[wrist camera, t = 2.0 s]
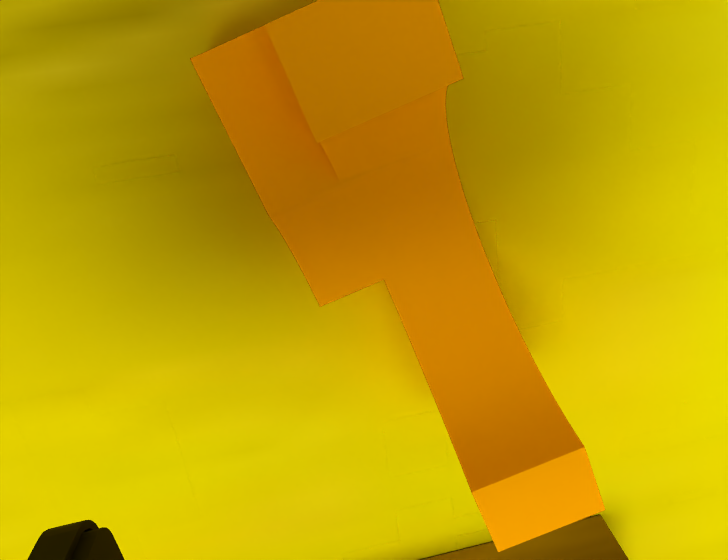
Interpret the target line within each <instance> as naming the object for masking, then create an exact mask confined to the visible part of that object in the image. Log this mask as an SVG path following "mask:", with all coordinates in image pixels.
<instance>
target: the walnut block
mask: <svg viewBox="0 0 728 560" xmlns="http://www.w3.org/2000/svg"><path fill="white" fill-rule="evenodd" d="M422 560H628V558H627V556H626V555H625V553H624V552H623V550H622V548H621V547H620V545H619V544H618V542H617V540H616V539H615V537H614V536H613V534H612V532H611V531H610V529H609V528H608V526H607V524H606V523H605V521H604V520H603V518H602V517H601V515H598V516H594V517H590V518H586V519H582V520H579V521H576V522H573V523H571V524H568V525H566V526H563V527H561V528H558V529H556V530H553V531H551V532H548V533H546V534H543V535H541V536H538V537H536V538H533V539H530V540H528V541H525V542H523V543H520V544H518V545H515V546H513V547H510V548H508V549H505V550H503V551H500V552H498V551H497V548H496V546H495V544H494V542H490V543H486V544H482V545H478V546H474V547H470V548H466V549H462V550H458V551H454V552H450V553H446V554H442V555H438V556H434V557H430V558H426V559H422Z"/></svg>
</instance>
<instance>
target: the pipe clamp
mask: <svg viewBox="0 0 728 560" xmlns="http://www.w3.org/2000/svg"><path fill="white" fill-rule="evenodd" d="M190 60H191V62H192V64H193V66H194V68H195V70H196V72H197V74H198V76H199V78H200V80H201V82H202V84H203V86H204V88H205V90H206V92H207V94H208V96H209V98H210V100H211V102H212V104H213V106H214V108H215V110H216V112H217V114H218V116H219V118H220V120H221V122H222V124H223V126H224V128H225V130H226V132H227V134H228V136H229V138H230V140H231V142H232V144H233V146H234V148H235V150H236V152H237V154H238V156H239V158H240V160H241V162H242V164H243V166H244V168H245V170H246V172H247V174H248V176H249V178H250V180H251V182H252V184H253V186H254V188H255V190H256V192H257V194H258V196H259V198H260V200H261V202H262V204H263V206H264V208H265V210H266V212H267V214H268V215H269V217H270V218H271V220H272V221H273V223H274V224H275V226H276V227H277V229H278V230H279V232H280V234H281V235H282V237H283V238H284V240H285V242H286V243H287V245H288V247H289V249H290V250H291V252H292V254H293V256H294V257H295V259H296V261H297V263H298V265H299V267H300V268H301V270H302V272H303V274H304V276H305V278H306V280H307V282H308V284H309V286H310V288H311V290H312V292H313V294H314V296H315V298H316V300H317V302H318V304H319V306H320V307H321V306H323V305H325V304H328V303H330V302H332V301H335V300H337V299H339V298H342V297H344V296H346V295H349V294H351V293H354V292H356V291H358V290H361V289H363V288H365V287H368V286H370V285H372V284H375V283H377V282H379V281H382V280H384V281H385V283H386V286H387V288H388V290H389V293H390V295H391V297H392V299H393V302H394V304H395V306H396V309H397V311H398V313H399V316H400V318H401V320H402V323H403V325H404V328H405V330H406V332H407V335H408V337H409V339H410V342H411V344H412V346H413V349H414V351H415V354H416V356H417V358H418V361H419V363H420V366H421V368H422V370H423V373H424V375H425V378H426V380H427V382H428V385H429V387H430V390H431V392H432V394H433V397H434V399H435V402H436V404H437V407H438V409H439V412H440V414H441V416H442V419H443V421H444V424H445V426H446V429H447V431H448V434H449V436H450V439H451V441H452V444H453V446H454V449H455V451H456V454H457V456H458V459H459V461H460V464H461V466H462V469H463V471H464V474H465V477H466V479H467V482H468V484H469V487H470V489H471V492H472V494H473V497H474V499H475V501H476V503H477V506H478V508H479V510H480V512H481V515H482V517H483V519H484V521H485V524H486V526H487V528H488V530H489V533H490V535H491V537H492V539H493V542H494V544H495V546H496V548H497V551H498V552H500V551H503V550H505V549H508V548H510V547H513V546H515V545H518V544H520V543H523V542H525V541H528V540H530V539H533V538H536V537H538V536H541V535H543V534H546V533H548V532H551V531H553V530H556V529H558V528H561V527H563V526H566V525H568V524H571V523H573V522H576V521H579V520H581V519H584V518H586V517H589V516H591V515H594V514H596V513H599V512H601V511H604V510H605V508H604V505H603V502H602V498H601V495H600V492H599V489H598V486H597V483H596V480H595V477H594V474H593V471H592V468H591V465H590V462H589V459H588V456H587V453H586V450H585V447H584V445H583V444H582V442H581V441H580V439H579V438H578V436H577V435H576V433H575V432H574V430H573V428H572V427H571V425H570V424H569V422H568V421H567V419H566V417H565V416H564V414H563V412H562V411H561V409H560V407H559V406H558V404H557V402H556V400H555V399H554V397H553V395H552V393H551V392H550V390H549V388H548V386H547V384H546V382H545V381H544V379H543V377H542V375H541V373H540V371H539V369H538V367H537V366H536V364H535V362H534V360H533V358H532V356H531V354H530V352H529V350H528V348H527V346H526V344H525V342H524V340H523V338H522V336H521V334H520V332H519V330H518V328H517V325H516V323H515V321H514V319H513V317H512V315H511V313H510V310H509V308H508V306H507V304H506V301H505V299H504V297H503V295H502V292H501V290H500V288H499V285H498V283H497V281H496V278H495V276H494V274H493V271H492V269H491V266H490V264H489V261H488V259H487V256H486V254H485V251H484V249H483V246H482V244H481V241H480V238H479V236H478V233H477V230H476V227H475V225H474V222H473V219H472V216H471V213H470V210H469V207H468V204H467V201H466V198H465V195H464V192H463V189H462V185H461V182H460V178H459V175H458V171H457V168H456V164H455V160H454V156H453V152H452V147H451V143H450V138H449V132H448V126H447V119H446V92H447V88H448V85H450V84H452V83H455V82H457V81H459V80H461V79H464V78H463V75H462V72H461V69H460V66H459V63H458V60H457V56H456V53H455V50H454V47H453V44H452V41H451V38H450V35H449V32H448V29H447V26H446V23H445V20H444V17H443V14H442V11H441V8H440V5H439V2H438V0H318V1H315V2H313V3H311V4H309V5H307V6H304V7H302V8H300V9H298V10H296V11H293V12H291V13H289V14H287V15H285V16H282V17H280V18H278V19H276V20H274V21H271V22H269V23H267V24H265V25H263V26H261V27H259V28H257V29H254V30H252V31H250V32H248V33H246V34H243V35H241V36H239V37H237V38H235V39H232V40H230V41H228V42H226V43H224V44H221V45H219V46H217V47H215V48H213V49H210V50H208V51H206V52H204V53H202V54H199V55H197V56H195V57H193V58H190Z"/></svg>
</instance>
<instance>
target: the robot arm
mask: <svg viewBox="0 0 728 560" xmlns="http://www.w3.org/2000/svg"><path fill="white" fill-rule="evenodd" d="M28 560H124V558H123V556H122V554H121V551H120V549H119V547H118V545H117V543H116V541H115V539H114V537H113V535H112V533H111V531H110V530H109V529H108V528H98V526H97V525H96V523H94V522H93V521H92V520H85V521H80V522H76V523H72V524H68V525H63V526H59V527H55V528H51V529H48V530H46V531H44V532H43V533H42V534H41V536H40V537H39V539H38V541H37V542H36V544H35V546H34V548H33V550H32V552H31V554H30V556H29V558H28Z"/></svg>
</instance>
